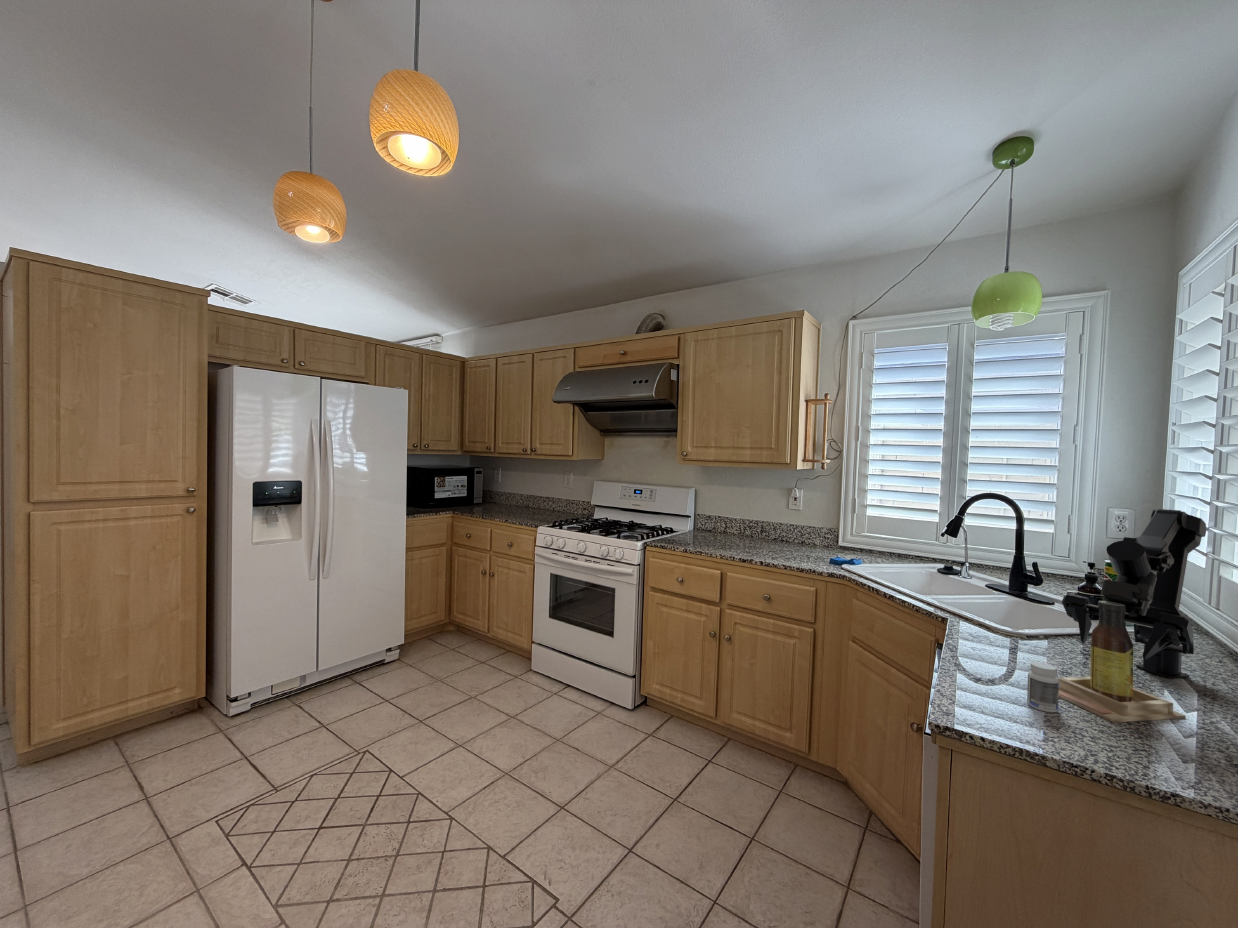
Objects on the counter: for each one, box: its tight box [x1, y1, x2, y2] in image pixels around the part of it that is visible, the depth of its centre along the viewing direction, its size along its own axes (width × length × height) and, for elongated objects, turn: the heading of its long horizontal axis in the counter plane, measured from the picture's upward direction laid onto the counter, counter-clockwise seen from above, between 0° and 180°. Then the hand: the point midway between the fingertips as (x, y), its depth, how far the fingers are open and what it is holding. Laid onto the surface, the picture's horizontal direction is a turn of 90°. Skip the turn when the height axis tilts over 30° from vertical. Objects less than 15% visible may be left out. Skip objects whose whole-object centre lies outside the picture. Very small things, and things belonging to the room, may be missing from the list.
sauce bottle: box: [1089, 600, 1134, 702], centre depth 100 cm, size 6×6×20 cm
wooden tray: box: [1057, 676, 1186, 723], centre depth 100 cm, size 17×14×2 cm
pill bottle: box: [1026, 661, 1060, 713], centre depth 97 cm, size 5×5×8 cm
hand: (1112, 649), depth 99 cm, fingers open, 9 cm apart
